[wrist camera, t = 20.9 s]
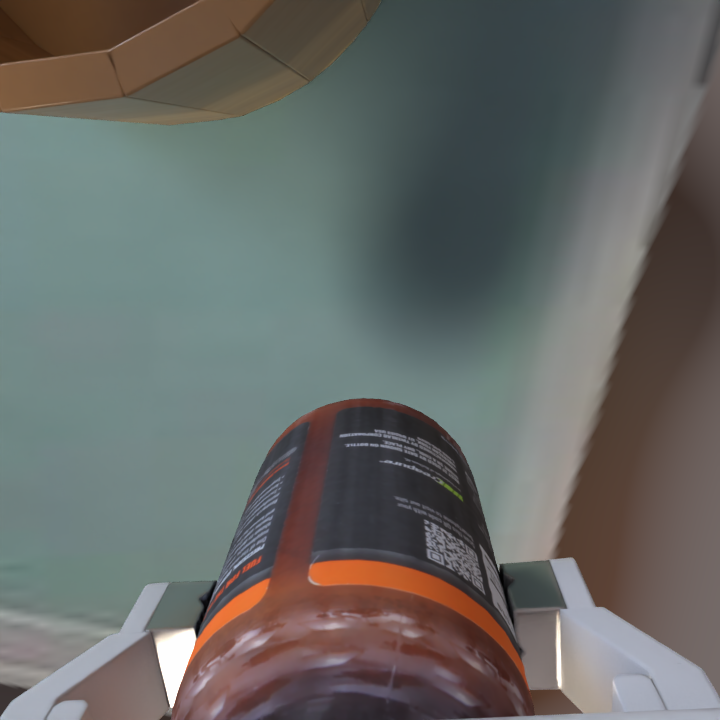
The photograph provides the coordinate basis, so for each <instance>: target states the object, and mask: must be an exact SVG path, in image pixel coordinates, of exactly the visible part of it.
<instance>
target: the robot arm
mask: <svg viewBox="0 0 720 720" xmlns="http://www.w3.org/2000/svg"><path fill="white" fill-rule="evenodd" d="M499 573H500V579H501V583H502V586H503V590H504V594H505V598H506V602H507V606H508V610H509V614H510V617H511V621H512V624H513V628H514V632H515V636H516V640H517V644H518V646H519V649H520V654H521V659H522V663H523V665H524V670H525V676H526V680H527V683H528V687H529V690H540V689H561V691H562V692H563V693H564V694H565V695H566V696H567V697H568V698H569V699H570V700H571V701H572V702H573V703H574V704H575V705H576V706H577V707H578V708H579V709H580V710H581V711H582V712H583V713H584V714H563V715H538V716H515V717H492V718H469V719H446V720H720V697H719V696H718V694H717V692H716V690H715V689H714V687H713V685H712V684H711V682H710V680H709V678H708V677H707V675H706V674H705V672H704V670H703V669H702V668H700V667H699V666H697V665H695V664H694V663H692V662H691V661H689V660H688V659H686V658H684V657H683V656H681V655H680V654H678V653H676V652H675V651H673V650H671V649H670V648H668V647H667V646H665V645H663V644H662V643H660V642H658V641H657V640H655V639H654V638H652V637H650V636H649V635H647V634H646V633H644V632H642V631H641V630H639V629H638V628H636V627H634V626H633V625H631V624H629V623H628V622H626V621H625V620H623V619H622V618H620V617H618V616H617V615H615V614H614V613H612V612H610V611H609V610H607V609H606V608H604V607H596V606H595V603H594V601H593V599H592V597H591V595H590V592H589V590H588V588H587V585H586V583H585V581H584V579H583V576H582V574H581V572H580V570H579V568H578V565H577V563H576V561H575V560H574V559H573V558H563V559H551V560H547V561H533V562H520V563H506V564H500V569H499ZM216 585H217V581H191V582H172V583H170V582H166V583H150V584H148V585H146V586H145V587H144V589H143V591H142V593H141V594H140V596H139V598H138V600H137V601H136V603H135V605H134V607H133V608H132V610H131V612H130V614H129V616H128V617H127V619H126V621H125V623H124V624H123V626H122V628H121V630H120V631H119V633H118V634H111V635H109V636H108V637H106V638H105V639H103V640H102V641H101V642H99V643H98V644H96V645H95V646H93V647H92V648H90V649H89V650H87V651H86V652H84V653H83V654H81V655H80V656H78V657H77V658H75V659H74V660H72V661H71V662H69V663H68V664H66V665H65V666H63V667H62V668H60V669H59V670H57V671H56V672H54V673H53V674H51V675H50V676H48V677H47V678H45V679H44V680H42V681H41V682H39V683H38V684H36V685H35V686H33V687H32V688H30V689H29V690H27V691H26V692H25V693H23V694H22V695H20V696H19V697H17V698H16V699H14V700H13V701H11V703H10V704H9V705H8V707H7V708H6V710H5V711H4V713H3V714H2V716H1V717H0V720H159V719H160V718H161V717H162V716H163V715H164V714H165V713H166V712H167V711H168V710H169V708H168V707H173V705H174V701H175V698H176V694H177V691H178V688H179V685H180V682H181V680H182V677H183V674H184V671H185V668H186V665H187V662H188V660H189V657H190V655H191V652H192V650H193V648H194V645H195V642H196V639H197V636H198V633H199V630H200V627H201V624H202V622H203V620H204V617H205V614H206V611H207V608H208V606H209V603H210V600H211V598H212V595H213V592H214V590H215V587H216Z"/></svg>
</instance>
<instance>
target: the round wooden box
mask: <svg viewBox="0 0 720 720" xmlns="http://www.w3.org/2000/svg"><path fill="white" fill-rule="evenodd" d="M381 1H382V0H0V112H3V113H15V114H28V115H41V116H54V117H68V118H81V119H94V120H107V121H120V122H133V123H147V124H160V125H176V124H184V123H195V122H205V121H214V120H222V119H226V118H234V117H240V116H244V115H246V114H248V113H250V112H252V111H255V110H257V109H260V108H262V107H264V106H267V105H269V104H272V103H274V102H276V101H279V100H281V99H282V98H284V97H286V96H287V95H289V94H291V93H292V92H294V91H296V90H297V89H299V88H301V87H303V86H304V85H306V84H308V83H309V82H310V81H312V80H313V79H314V78H315V77H316V76H317V75H319V74H320V73H321V72H322V71H324V70H325V69H326V68H327V67H329V66H330V65H331V64H332V63H333V62H334V61H335V60H336V59H337V58H338V57H339V56H340V55H341V54H342V53H343V52H344V51H345V50H346V49H347V47H348V46H349V45H350V44H351V43H352V42H353V41H354V40H355V39H356V37H357V36H358V35H359V33H360V32H361V31H362V29H363V28H364V27H365V26H366V25H367V23H368V21H370V19H371V17H372V16H373V15H374V13H375V12H376V10H377V8H378V6H379V4H380V3H381Z"/></svg>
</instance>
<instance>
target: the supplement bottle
mask: <svg viewBox="0 0 720 720" xmlns="http://www.w3.org/2000/svg"><path fill="white" fill-rule="evenodd" d="M515 716H535V714H534V707H533V703H532V698H531V695H530V691H529V687H528V683H527V680H526V676H525V670H524V665H523V663H522V659H521V654H520V649H519V646H518V644H517V640H516V636H515V632H514V628H513V624H512V621H511V617H510V614H509V610H508V606H507V602H506V598H505V594H504V590H503V586H502V583H501V579H500V574H499V570H498V567H497V564H496V561H495V557H494V552H493V548H492V545H491V541H490V537H489V532H488V529H487V526H486V522H485V517H484V514H483V511H482V507H481V503H480V499H479V495H478V491H477V488H476V484H475V481H474V477H473V475H472V472H471V470H470V468H469V465H468V463H467V460H466V458H465V456H464V454H463V453H462V451H461V448H460V447H459V445H458V444H457V443H456V441H455V440H454V439H453V438H452V437H451V436H450V435H449V434H448V433H447V432H446V431H445V430H444V429H443V428H442V427H441V426H439V425H438V424H437V422H435V421H434V420H433V419H431V418H429V417H427V416H426V415H424V414H423V413H421V412H419V411H417V410H414V409H412V408H410V407H408V406H405V405H402V404H399V403H394V402H391V401H388V400H381V399H365V398H362V399H349V400H344V401H340V402H336V403H332V404H328V405H325V406H323V407H320V408H317V409H315V410H313V411H311V412H309V413H307V414H305V415H304V416H302V417H300V418H299V419H298V420H296V421H295V422H294V423H293V424H292V425H290V426H289V427H288V428H287V429H286V430H285V431H284V432H283V433H282V434H281V436H280V437H279V438H278V439H277V440H276V442H275V443H274V444H273V446H272V447H271V449H270V450H269V452H268V454H267V456H266V459H265V461H264V462H263V464H262V466H261V468H260V470H259V473H258V475H257V477H256V479H255V482H254V485H253V488H252V490H251V494H250V496H249V498H248V501H247V505H246V508H245V510H244V512H243V515H242V517H241V520H240V523H239V526H238V528H237V531H236V533H235V536H234V539H233V541H232V544H231V547H230V550H229V552H228V555H227V558H226V561H225V564H224V566H223V569H222V571H221V574H220V576H219V579H218V582H217V585H216V587H215V590H214V592H213V595H212V598H211V600H210V603H209V606H208V608H207V611H206V614H205V617H204V620H203V622H202V624H201V627H200V630H199V633H198V636H197V639H196V642H195V645H194V648H193V650H192V652H191V655H190V657H189V660H188V662H187V665H186V668H185V671H184V674H183V677H182V680H181V682H180V685H179V688H178V691H177V694H176V698H175V701H174V705H173V709H172V718H171V720H446V719H469V718H492V717H515Z"/></svg>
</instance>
